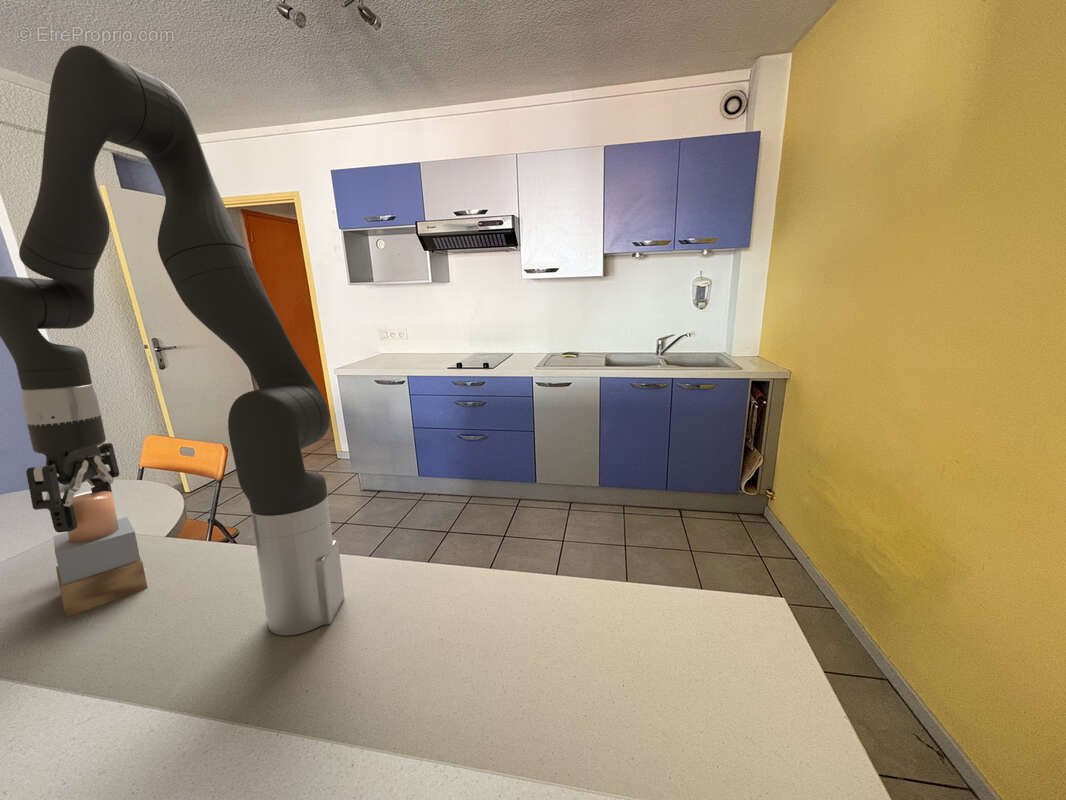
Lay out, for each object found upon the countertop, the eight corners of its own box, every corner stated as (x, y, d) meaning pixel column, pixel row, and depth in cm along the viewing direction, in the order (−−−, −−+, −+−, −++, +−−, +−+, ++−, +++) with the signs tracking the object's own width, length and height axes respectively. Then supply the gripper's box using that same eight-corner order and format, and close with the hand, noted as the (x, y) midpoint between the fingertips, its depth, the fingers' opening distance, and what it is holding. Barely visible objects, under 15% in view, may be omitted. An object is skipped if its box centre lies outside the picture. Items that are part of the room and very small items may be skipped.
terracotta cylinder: (128, 524, 70) (121, 490, 69) (99, 541, 65) (91, 503, 64) (90, 527, 69) (83, 492, 68) (58, 544, 64) (49, 506, 63)
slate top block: (132, 544, 74) (126, 517, 73) (140, 560, 69) (134, 531, 68) (60, 565, 68) (53, 536, 67) (62, 585, 62) (55, 553, 61)
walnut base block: (137, 569, 75) (132, 543, 74) (147, 588, 69) (142, 560, 68) (62, 595, 68) (55, 566, 67) (66, 618, 63) (59, 587, 62)
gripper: (60, 424, 58) (85, 535, 61) (125, 406, 71) (142, 498, 74) (-12, 429, 56) (17, 544, 59) (68, 410, 69) (89, 504, 72)
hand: (87, 518), depth 66 cm, fingers open, 8 cm apart
